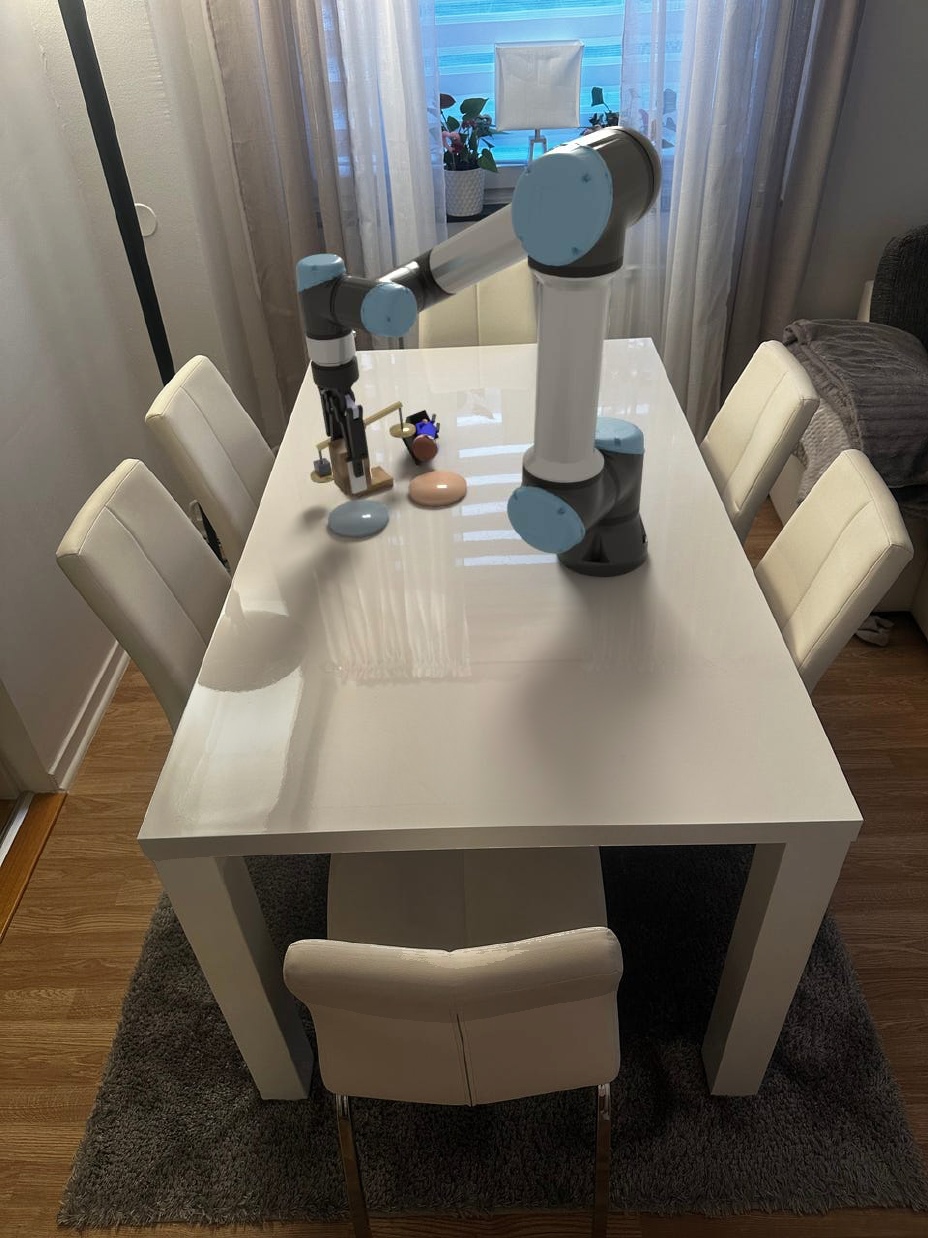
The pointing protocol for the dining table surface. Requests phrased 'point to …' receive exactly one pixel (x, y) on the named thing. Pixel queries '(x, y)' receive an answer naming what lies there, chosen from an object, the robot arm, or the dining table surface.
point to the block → (343, 466)
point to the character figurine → (422, 437)
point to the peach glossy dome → (437, 488)
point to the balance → (377, 474)
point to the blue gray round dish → (358, 518)
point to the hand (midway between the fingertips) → (352, 483)
